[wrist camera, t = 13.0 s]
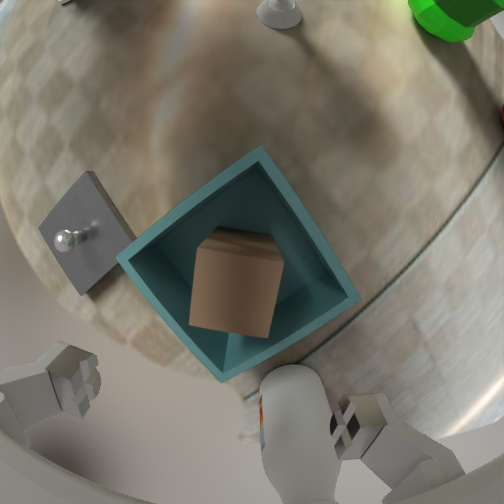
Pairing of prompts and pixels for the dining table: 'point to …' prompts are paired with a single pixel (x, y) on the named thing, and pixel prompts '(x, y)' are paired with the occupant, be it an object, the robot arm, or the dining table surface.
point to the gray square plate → (86, 233)
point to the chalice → (279, 13)
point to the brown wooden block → (236, 282)
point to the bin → (250, 219)
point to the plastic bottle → (453, 16)
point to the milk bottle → (298, 436)
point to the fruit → (503, 114)
